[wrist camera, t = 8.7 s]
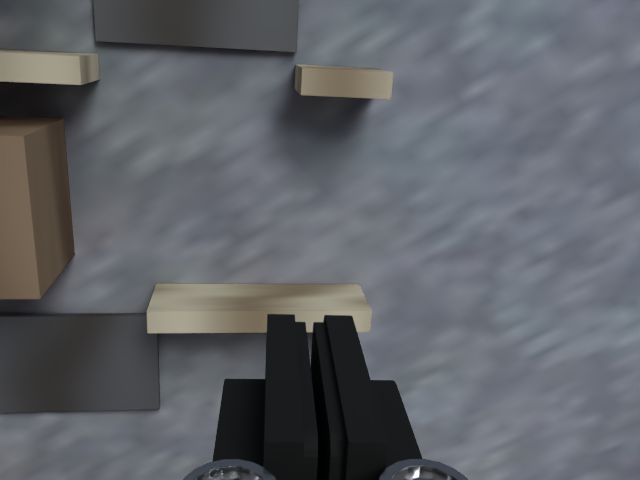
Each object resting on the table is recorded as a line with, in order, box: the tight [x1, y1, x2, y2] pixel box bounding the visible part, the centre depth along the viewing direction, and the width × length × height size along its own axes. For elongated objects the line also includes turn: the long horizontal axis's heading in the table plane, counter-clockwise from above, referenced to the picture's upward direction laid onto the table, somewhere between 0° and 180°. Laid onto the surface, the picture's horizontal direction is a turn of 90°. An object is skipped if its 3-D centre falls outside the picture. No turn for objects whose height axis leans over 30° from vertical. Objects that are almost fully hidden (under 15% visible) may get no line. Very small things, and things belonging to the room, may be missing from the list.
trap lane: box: [0, 0, 393, 413], centre depth 25 cm, size 21×22×3 cm
